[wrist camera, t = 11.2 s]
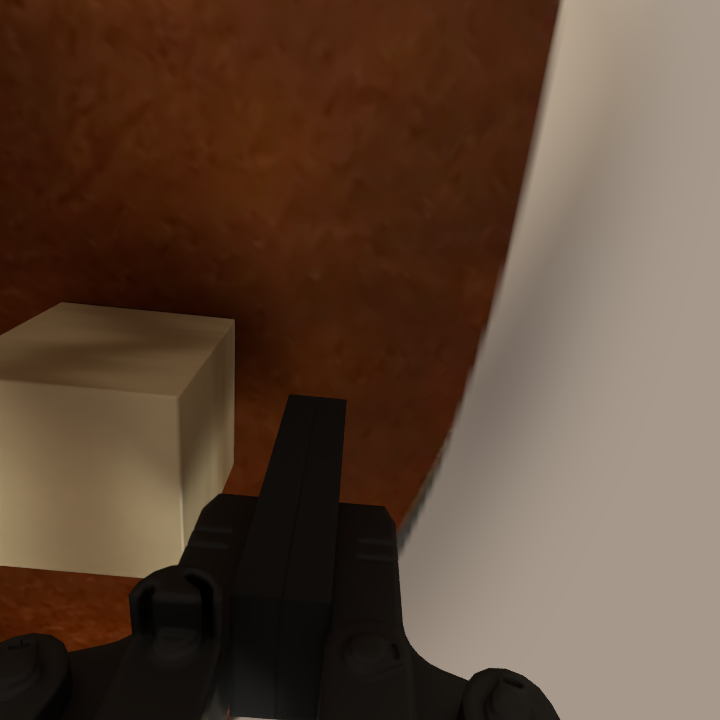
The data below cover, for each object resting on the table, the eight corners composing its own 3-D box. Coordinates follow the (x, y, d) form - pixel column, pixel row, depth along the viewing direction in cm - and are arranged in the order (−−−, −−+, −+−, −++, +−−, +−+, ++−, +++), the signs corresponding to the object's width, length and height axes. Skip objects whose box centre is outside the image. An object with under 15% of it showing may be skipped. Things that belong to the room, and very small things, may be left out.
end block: (235, 318, 15) (178, 397, 11) (234, 463, 17) (185, 582, 13) (60, 301, 15) (-73, 372, 11) (79, 449, 17) (-26, 564, 13)
